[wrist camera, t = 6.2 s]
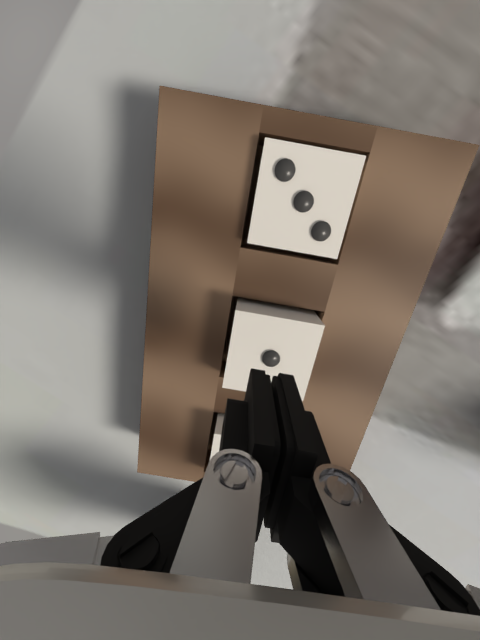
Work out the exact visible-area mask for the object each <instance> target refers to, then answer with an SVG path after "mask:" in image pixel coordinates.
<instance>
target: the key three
mask: <svg viewBox="0 0 480 640" xmlns="http://www.w3.org/2000/svg"><path fill="white" fill-rule="evenodd" d="M365 159H366V156H365V155H359V154H354V153H348V152H343V151H337V150H332V149H326V148H321V147H316V146H310V145H305V144H299V143H294V142H288V141H283V140H278V139H272V138H267V137H265V141H264V147H263V153H262V158H261V164H260V170H259V176H258V182H257V188H256V194H255V199H254V205H253V211H252V217H251V223H250V229H249V234H248V240H247V243H249V244H255V245H261V246H266V247H272V248H277V249H283V250H289V251H294V252H300V253H306V254H311V255H317V256H322V257H328V258H334V259H337V258H338V255H339V251H340V247H341V244H342V240H343V237H344V233H345V230H346V226H347V223H348V219H349V216H350V212H351V208H352V205H353V201H354V198H355V194H356V191H357V187H358V184H359V180H360V177H361V173H362V169H363V166H364V162H365Z"/></svg>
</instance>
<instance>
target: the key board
mask: <svg viewBox="0 0 480 640" xmlns="http://www.w3.org/2000/svg"><path fill="white" fill-rule="evenodd" d="M265 137H267V138H272V139H278V140H283V141H288V142H294V143H299V144H305V145H310V146H316V147H321V148H326V149H332V150H337V151H343V152H348V153H354V154H359V155H365V156H366V159H365V162H364V166H363V169H362V173H361V177H360V180H359V184H358V187H357V191H356V194H355V198H354V201H353V205H352V208H351V212H350V216H349V219H348V223H347V226H346V230H345V233H344V237H343V240H342V244H341V247H340V251H339V255H338V258H337V259H334V258H328V257H322V256H317V255H311V254H306V253H300V252H294V251H289V250H283V249H277V248H272V247H266V246H261V245H255V244H249V243H247V240H248V234H249V229H250V223H251V217H252V211H253V205H254V199H255V194H256V188H257V182H258V176H259V170H260V164H261V158H262V153H263V147H264V141H265ZM478 147H479V145H477V144H471V143H466V142H460V141H455V140H450V139H444V138H439V137H433V136H428V135H423V134H417V133H412V132H407V131H401V130H396V129H390V128H385V127H380V126H374V125H369V124H363V123H358V122H353V121H347V120H342V119H336V118H331V117H326V116H320V115H315V114H309V113H304V112H299V111H293V110H288V109H283V108H277V107H272V106H266V105H261V104H256V103H250V102H245V101H239V100H234V99H229V98H223V97H218V96H212V95H207V94H202V93H196V92H191V91H185V90H180V89H175V88H169V87H164V86H160V89H159V107H158V124H157V141H156V158H155V176H154V193H153V210H152V228H151V245H150V262H149V279H148V297H147V314H146V331H145V349H144V366H143V383H142V400H141V418H140V435H139V452H138V470H137V472H139V473H145V474H151V475H157V476H164V477H170V478H176V479H182V480H188V481H194V482H196V481H198V480H200V479H201V478H203V477H204V474H205V472H206V469H207V466H208V463H209V461H210V456H211V450H212V444H213V438H214V433H215V427H216V422H217V416H218V413H224V414H225V409H226V403H227V399H228V398H229V399H236V400H242V401H244V399H245V394H246V392H245V391H239V390H233V389H227V388H222V386H223V380H224V374H225V368H226V362H227V356H228V350H229V345H230V339H231V333H232V327H233V321H234V315H235V310H236V305H237V300H238V297H239V298H244V299H250V300H256V301H261V302H267V303H273V304H279V305H284V306H290V307H296V308H301V309H307V310H313V311H314V312H315V313H316V314H317V316H318V317H319V318H320V320H321V321H322V322H323V324H324V325H325V327H324V331H323V334H322V338H321V341H320V345H319V348H318V351H317V355H316V358H315V362H314V365H313V369H312V372H311V375H310V379H309V382H308V386H307V389H306V393H305V396H304V400H303V401H302V403H303V406H304V409H305V411H311V412H312V413H313V415H314V418H315V420H316V423H317V426H318V429H319V431H320V434H321V437H322V440H323V442H324V445H325V448H326V451H327V453H328V456H329V459H330V462H331V464H335V465H339V466H341V467H344V468H346V469H347V470H349V471H350V469H351V466H352V464H353V461H354V459H355V456H356V454H357V451H358V449H359V446H360V444H361V441H362V439H363V436H364V434H365V431H366V429H367V426H368V424H369V421H370V419H371V416H372V414H373V411H374V409H375V406H376V404H377V401H378V399H379V396H380V394H381V391H382V388H383V386H384V383H385V381H386V378H387V376H388V373H389V371H390V368H391V366H392V363H393V361H394V358H395V356H396V353H397V351H398V348H399V346H400V343H401V341H402V338H403V336H404V333H405V331H406V328H407V326H408V323H409V321H410V318H411V316H412V313H413V311H414V308H415V306H416V303H417V301H418V298H419V295H420V293H421V290H422V288H423V285H424V283H425V280H426V278H427V275H428V273H429V270H430V268H431V265H432V263H433V260H434V258H435V255H436V253H437V250H438V248H439V245H440V243H441V240H442V238H443V235H444V233H445V230H446V228H447V225H448V223H449V220H450V218H451V215H452V213H453V210H454V208H455V205H456V202H457V200H458V197H459V195H460V192H461V190H462V187H463V185H464V182H465V180H466V177H467V175H468V172H469V170H470V167H471V165H472V162H473V160H474V157H475V155H476V152H477V150H478Z"/></svg>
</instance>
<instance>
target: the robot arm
mask: <svg viewBox="0 0 480 640" xmlns="http://www.w3.org/2000/svg"><path fill="white" fill-rule="evenodd" d="M263 518H264V526H265V528H270V533H271V542H276V543H280V545H281V546H282V547H283V548H284V549H285V550H286V552H287V553H288V554H287V564H288V570H289V574H290V578H291V582H292V586H293V590H291V589H284V588H277V587H269V586H262V585H254V584H250V582H251V573H252V564H253V555H254V546H255V542H256V541H257V540H258V536H259V532H260V529H261V525H262V521H263ZM0 640H480V589H479V588H477V587H474V586H471V585H469V584H468V585H467V586H466V588H464V586H463V585H462V584H461V583H460V582H459V581H458V580H457V579H456V578H455V577H454V576H452V575H451V574H450V573H449V572H448V571H447V570H445V569H444V568H443V567H442V566H440V565H439V564H438V563H437V562H435V561H434V560H433V559H432V558H430V557H429V556H428V555H427V554H425V553H424V552H423V551H422V550H420V549H419V548H418V547H417V546H415V545H414V544H413V543H412V542H410V541H409V540H408V539H407V538H405V537H404V536H403V535H402V534H400V533H399V532H398V531H397V530H395V529H394V528H393V527H391V526H390V525H389V524H388V523H387V521H386V519H385V518H384V516H383V515H382V513H381V511H380V510H379V508H378V506H377V505H376V503H375V502H374V500H373V498H372V497H371V495H370V493H369V492H368V490H367V489H366V487H365V485H364V484H363V483H362V482H361V480H360V479H359V478H358V477H357V476H356V475H354V474H353V473H352V472H350V471H349V470H347V469H346V468H344V467H341V466H339V465H335V464H331V462H330V459H329V456H328V453H327V451H326V448H325V445H324V442H323V440H322V437H321V434H320V431H319V429H318V426H317V423H316V420H315V418H314V415H313V413H312V412H311V411H305V409H304V406H303V403H302V400H301V397H300V394H299V391H298V387H297V384H296V381H295V378H294V376H293V375H290V374H283V373H279V374H278V376H273V378H272V382H271V379H270V375H267V374H265V370H259V369H253V368H251V370H250V374H249V379H248V384H247V389H246V394H245V399H244V401H242V400H236V399H229V398H228V399H227V403H226V409H225V414H224V420H223V426H222V433H221V440H220V448H219V452H217V453H216V454H215V455H214V456H212V458H211V460H210V461H209V463H208V466H207V469H206V472H205V474H204V477H203V478H201V479H200V480H198V481H196V482H195V483H193V484H192V485H190V486H189V487H187V488H185V489H184V490H182V491H181V492H179V493H177V494H176V495H174V496H173V497H171V498H169V499H168V500H166V501H165V502H163V503H161V504H160V505H158V506H157V507H155V508H153V509H152V510H150V511H149V512H147V513H145V514H144V515H142V516H141V517H139V518H137V519H136V520H134V521H133V522H131V523H129V524H128V525H126V526H125V527H124V528H122V529H121V530H120V531H119V532H117V533H116V534H115V535H114V536H107V537H100V532H96V533H87V534H77V535H68V536H59V537H49V538H41V539H32V540H21V541H12V542H5V543H1V544H0Z"/></svg>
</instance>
